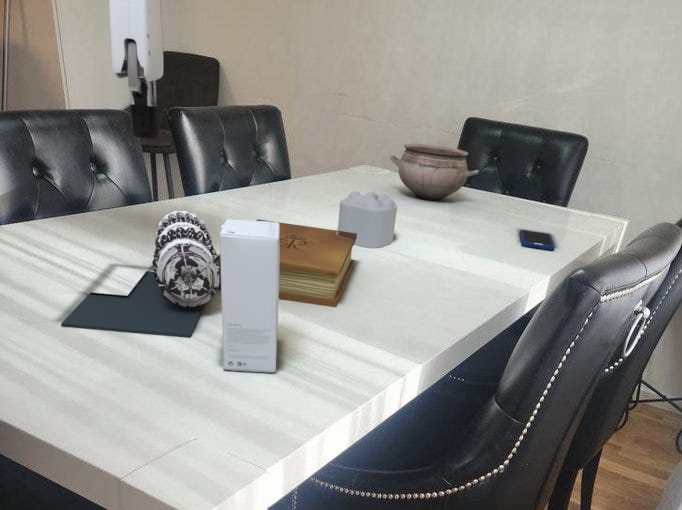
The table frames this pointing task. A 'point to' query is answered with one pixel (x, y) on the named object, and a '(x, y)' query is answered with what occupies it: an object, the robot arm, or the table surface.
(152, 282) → the mat
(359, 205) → the lumpy-topped squat cylinder
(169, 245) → the decorative tower
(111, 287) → the table surface
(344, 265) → the diary
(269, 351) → the cosmetic box
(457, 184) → the cooking pot
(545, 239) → the cell phone
